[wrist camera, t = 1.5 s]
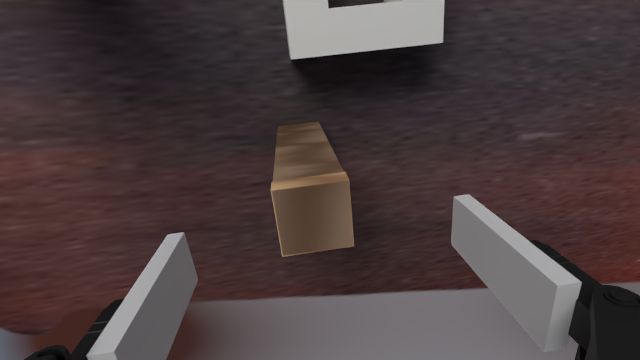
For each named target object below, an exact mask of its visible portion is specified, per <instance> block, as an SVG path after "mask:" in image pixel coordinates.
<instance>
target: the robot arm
mask: <svg viewBox="0 0 640 360" xmlns="http://www.w3.org/2000/svg"><path fill="white" fill-rule="evenodd" d="M451 245H452V246H453V247H454V248H455V249H456V250H457V252H458V253H459V254H460V255H461V256H462V257H463V259H464V260H465V261H466V262H467V263H468V265H469V266H470V267H471V268H472V269H473V270H474V272H475V273H476V274H477V275H478V276H479V277H480V279H481V280H482V281H483V282H484V283H485V284H486V286H487V287H488V288H489V289H490V290H491V291H492V292H493V294H494V295H495V296H496V297H497V298H498V300H499V301H500V302H501V303H502V304H503V305H504V307H505V308H506V309H507V310H508V311H509V312H510V313H511V315H512V316H513V317H514V318H515V319H516V321H517V322H518V323H519V324H520V325H521V326H522V327H523V329H524V330H525V331H526V332H527V333H528V335H529V336H530V337H531V338H532V339H533V340H534V342H535V343H536V344H537V345H538V346H539V348H540V349H541V350H542V351H543V352H549V351H556V350H562V349H566V346H567V341H568V337H569V335H570V336H571V337H572V338H573V339H574V340H575V341H576V342H577V343H578V344H579V345H578V349H577V353H576V357H575V360H640V296H639V295H637V294H635V293H633V292H631V291H629V290H627V289H624V288H621V287H618V286H611V285H602V284H600V283H599V282H598V281H596V280H595V279H593V278H592V277H591V276H589V275H588V274H587V273H585V272H584V271H583V270H581V269H580V268H578V267H577V266H576V265H574V264H573V263H570V261H569V260H568V259H566V258H565V257H564V256H561V254H559V253H558V252H557V251H555V250H554V249H553V248H551V247H550V246H548V245H546V244H543V243H541V242H539V241H536V240H532V241H528V240H527V239H526V238H524V237H523V236H522V235H520V234H519V233H518V232H517V231H515V230H514V229H513V228H511V227H510V226H509V225H508V224H506V223H505V222H504V221H502V220H501V219H500V218H499V217H497V216H496V215H495V214H493V213H492V212H491V211H490V210H488V209H487V208H486V207H484V206H483V205H482V204H481V203H479V202H478V201H477V200H475V199H474V198H473V197H472V196H470V195H469V194H468V195H460V196H454V200H453V218H452V236H451ZM197 281H198V278H197V274H196V271H195V267H194V264H193V261H192V257H191V254H190V250H189V247H188V244H187V240H186V237H185V234H184V232H182V233H175V234H168V235H167V236H166V238H165V239H164V241H163V242H162V244H161V245H160V247H159V248H158V250H157V251H156V253H155V254H154V256H153V257H152V259H151V260H150V262H149V263H148V265H147V266H146V268H145V269H144V271H143V272H142V274H141V275H140V276H139V278H138V279H137V281H136V282H135V284H134V285H133V287H132V288H131V290H130V291H129V293H128V294H127V296H126V297H125V299H121V300H115V301H114V302H113V303H111V304H110V305H109V306H108V307H107V308H105V309H104V310H103V311H102V312H101V314H100V315H99V316H98V318H97V319H96V321H95V322H94V324H93V325H92V326H91V328H90V329H89V330H88V333H87V334H86V335H85V336H84V337H83V339H82V340H81V341H80V343H79V344H78V346H77V347H76V348H75V350H74V351H73V352H72V354H71V355H70V353H69V351H68V349H67V348H66V347H65V346H61V345H55V346H50V347H47V348H44V349H42V350H40V351H37V352H35V353H34V354H32V355H31V356H29V357H28V358H26V359H24V360H166V358H167V356H168V353H169V351H170V348H171V346H172V343H173V341H174V338H175V336H176V333H177V331H178V328H179V326H180V323H181V321H182V318H183V316H184V313H185V311H186V308H187V306H188V303H189V301H190V298H191V296H192V293H193V291H194V288H195V286H196V283H197Z"/></svg>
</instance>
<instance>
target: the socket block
mask: <svg viewBox="0 0 640 360" xmlns="http://www.w3.org/2000/svg"><path fill="white" fill-rule="evenodd" d="M283 8H284V16H285V24H286V32H287V40H288V48H289V55H290V59H300V58H309V57H318V56H328V55H337V54H346V53H355V52H364V51H373V50H382V49H391V48H400V47H409V46H418V45H427V44H436V43H443V26H444V0H384V3H377V4H367V5H358V6H348V7H338V8H328V0H283Z"/></svg>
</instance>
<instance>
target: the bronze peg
mask: <svg viewBox="0 0 640 360" xmlns="http://www.w3.org/2000/svg"><path fill="white" fill-rule="evenodd" d="M271 194H272V200H273V206H274V212H275V217H276V223H277V229H278V235H279V241H280V246H281V252H282V257H283V256H290V255H297V254H304V253H311V252H318V251H325V250H332V249H338V248H345V247H352V246H354V238H353V224H352V211H351V197H350V183H349V178H348V176H347V174H346V172H344V171H343V169H342V167H341V165H340V163H339V161H338V159H337V157H336V155H335V153H334V151H333V149H332V147H331V145H330V143H329V141H328V139H327V137H326V135H325V133H324V131H323V129H322V127H321V125H320V123H319V121H318V122H310V123H302V124H293V125H285V126H278V130H277V141H276V152H275V163H274V174H273V181H272V183H271Z"/></svg>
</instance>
